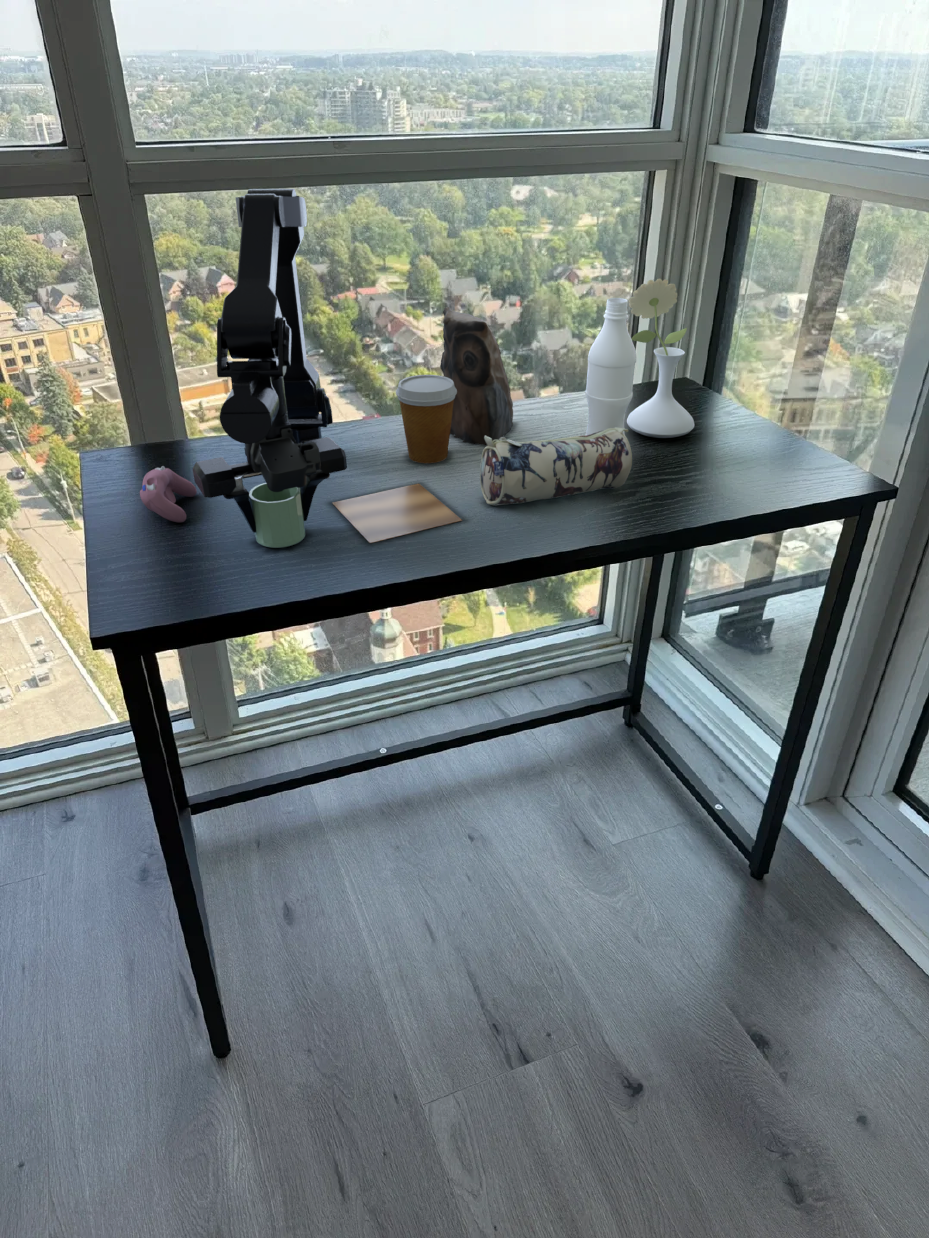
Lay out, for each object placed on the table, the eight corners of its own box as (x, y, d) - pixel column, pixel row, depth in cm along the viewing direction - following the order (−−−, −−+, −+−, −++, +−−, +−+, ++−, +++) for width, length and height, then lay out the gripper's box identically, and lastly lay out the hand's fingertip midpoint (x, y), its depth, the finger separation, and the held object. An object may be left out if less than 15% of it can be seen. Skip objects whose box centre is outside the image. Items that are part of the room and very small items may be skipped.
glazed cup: (249, 531, 117) (242, 487, 114) (296, 520, 120) (290, 477, 116) (264, 552, 112) (257, 506, 109) (312, 540, 115) (307, 496, 111)
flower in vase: (693, 423, 152) (715, 273, 138) (692, 447, 143) (716, 289, 129) (618, 417, 154) (633, 269, 141) (613, 440, 145) (628, 285, 131)
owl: (496, 450, 142) (498, 326, 131) (424, 441, 145) (420, 319, 134) (516, 423, 152) (520, 306, 141) (448, 416, 155) (447, 300, 144)
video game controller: (175, 504, 129) (144, 466, 125) (200, 490, 128) (170, 451, 124) (161, 535, 120) (128, 495, 117) (188, 521, 119) (156, 480, 116)
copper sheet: (332, 503, 125) (332, 502, 125) (418, 484, 131) (418, 483, 131) (369, 543, 115) (369, 542, 115) (462, 520, 120) (462, 520, 120)
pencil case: (494, 517, 121) (495, 451, 116) (475, 492, 128) (475, 429, 123) (634, 496, 127) (641, 433, 122) (609, 474, 134) (615, 413, 128)
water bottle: (574, 468, 135) (586, 303, 122) (586, 452, 141) (599, 292, 127) (619, 475, 133) (636, 308, 119) (629, 458, 139) (647, 297, 125)
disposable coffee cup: (450, 470, 135) (449, 395, 128) (391, 465, 137) (388, 391, 130) (462, 447, 143) (462, 375, 136) (407, 443, 144) (404, 372, 138)
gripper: (204, 448, 97) (226, 569, 106) (358, 420, 104) (367, 535, 113) (181, 417, 105) (203, 531, 114) (326, 393, 112) (336, 502, 121)
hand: (279, 525), depth 115 cm, fingers closed on glazed cup, 6 cm apart
